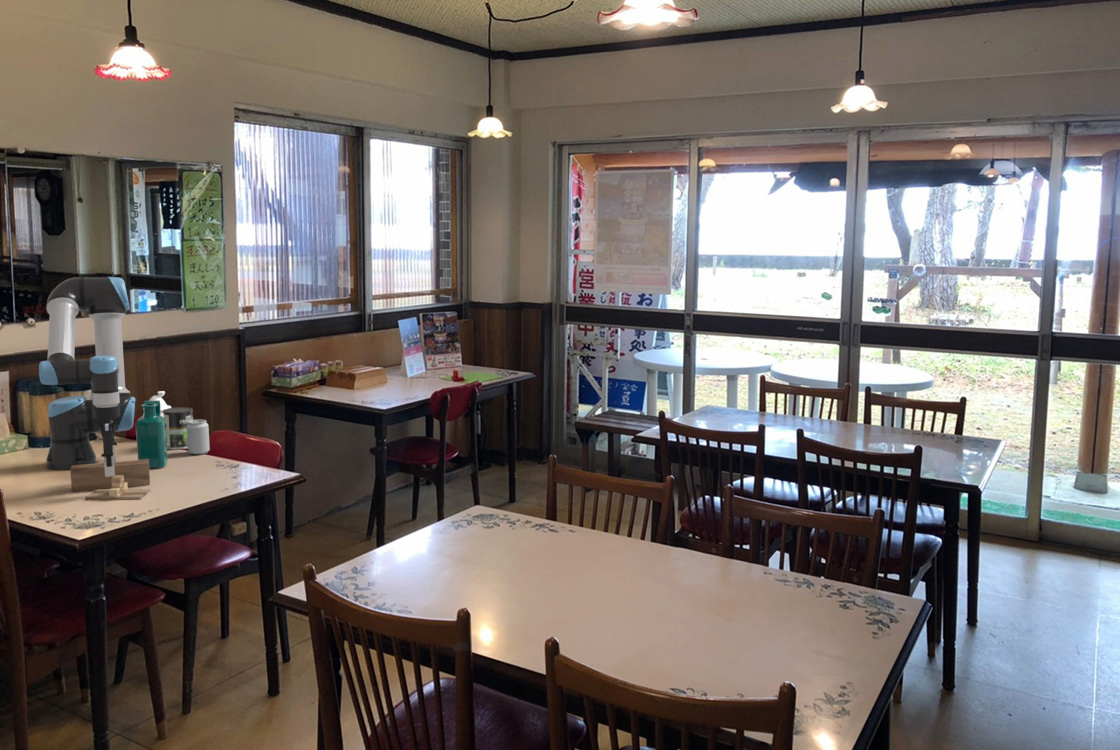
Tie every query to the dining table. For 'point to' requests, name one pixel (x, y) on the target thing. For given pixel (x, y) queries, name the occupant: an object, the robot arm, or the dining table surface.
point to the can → (197, 437)
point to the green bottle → (152, 436)
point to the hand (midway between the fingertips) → (110, 471)
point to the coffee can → (177, 426)
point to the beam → (94, 477)
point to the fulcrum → (118, 491)
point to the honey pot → (162, 402)
